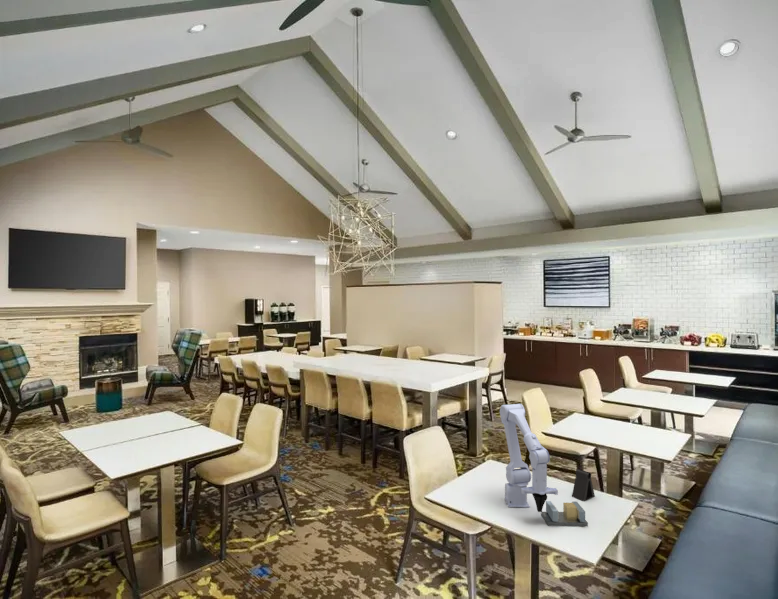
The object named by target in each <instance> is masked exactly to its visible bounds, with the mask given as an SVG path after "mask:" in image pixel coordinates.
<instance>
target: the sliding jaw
mask: <svg viewBox="0 0 778 599" xmlns="http://www.w3.org/2000/svg"><path fill="white" fill-rule="evenodd" d="M545 512H547V513H548V515H549V516H550V518H551V519H552V521H556V522H558V514H559V512H560V511H559V510H558V509H557V507H556V505H555V504H554V503H553V502H552V501H551V500H546V501H545Z"/></svg>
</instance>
